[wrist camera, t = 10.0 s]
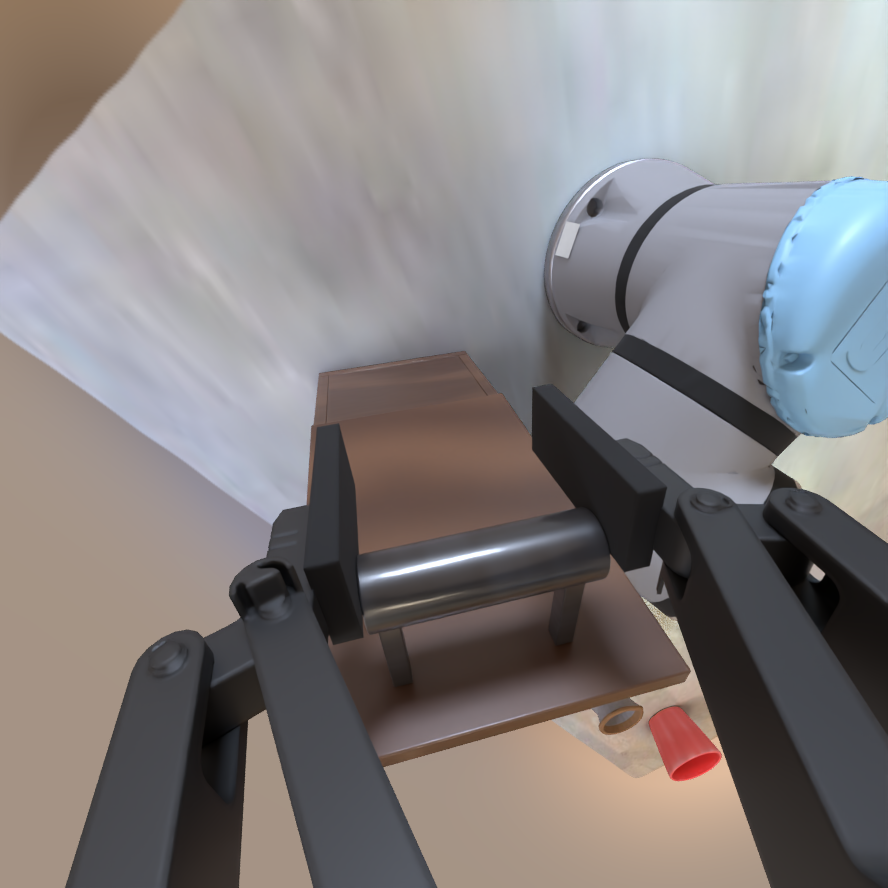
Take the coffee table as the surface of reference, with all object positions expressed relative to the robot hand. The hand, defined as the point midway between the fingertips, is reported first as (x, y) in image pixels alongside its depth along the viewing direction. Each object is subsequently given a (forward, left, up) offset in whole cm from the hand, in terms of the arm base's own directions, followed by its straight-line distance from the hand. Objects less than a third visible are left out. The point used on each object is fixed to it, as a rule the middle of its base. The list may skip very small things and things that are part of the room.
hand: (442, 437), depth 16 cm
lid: (0, +7, -3) cm, 8 cm away
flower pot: (-46, +93, -25) cm, 107 cm away
